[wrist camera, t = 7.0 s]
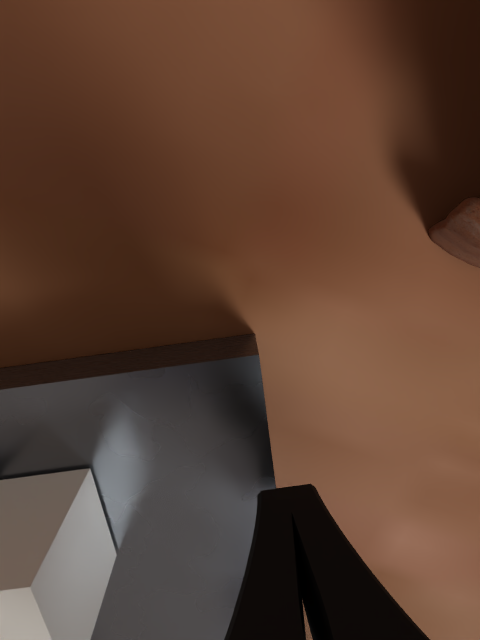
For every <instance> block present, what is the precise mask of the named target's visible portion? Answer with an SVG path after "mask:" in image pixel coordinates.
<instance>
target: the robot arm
mask: <svg viewBox="0 0 480 640" xmlns="http://www.w3.org/2000/svg"><path fill="white" fill-rule="evenodd" d="M302 600H303V603H302ZM303 604H304V608H305V611H306V615H307V619H308V623H309V627H310V631H311V634H312V638H313V640H430V639H429V638H428V637H427V636H426V635H425V634H424V633H423V632H422V630H421V629H420V628H419V627H418V626H417V625H416V624H415V623H414V622H413V621H412V619H411V618H410V617H409V616H408V615H407V614H406V613H405V611H404V610H403V609H402V608H401V607H400V606H399V605H398V603H397V602H396V601H395V600H394V599H393V597H392V596H391V595H390V594H389V593H388V591H387V590H386V589H385V588H384V587H383V585H382V584H381V583H380V582H379V580H378V579H377V578H376V577H375V575H374V574H373V573H372V572H371V570H370V569H369V568H368V566H367V565H366V564H365V563H364V561H363V560H362V559H361V557H360V556H359V554H358V553H357V552H356V550H355V549H354V548H353V546H352V545H351V544H350V542H349V541H348V540H347V538H346V537H345V535H344V534H343V532H342V531H341V530H340V528H339V527H338V525H337V524H336V522H335V520H334V519H333V517H332V516H331V514H330V513H329V511H328V509H327V508H326V506H325V505H324V503H323V501H322V499H321V497H320V496H319V494H318V492H317V490H316V488H315V487H314V486H313V485H311V484H306V485H299V486H291V487H284V488H277V489H269V490H262V491H260V493H259V494H258V495H257V513H256V521H255V527H254V533H253V538H252V543H251V548H250V552H249V556H248V561H247V565H246V569H245V573H244V577H243V581H242V584H241V588H240V591H239V594H238V598H237V601H236V605H235V608H234V611H233V615H232V618H231V621H230V624H229V627H228V630H227V633H226V636H225V639H224V640H306V634H305V624H304V613H303Z"/></svg>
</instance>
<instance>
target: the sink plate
mask: <svg viewBox="0 0 480 640" xmlns="http://www.w3.org/2000/svg"><path fill="white" fill-rule="evenodd" d="M88 468H90V470H91V473H92V476H93V479H94V483H95V486H96V489H97V492H98V496H99V499H100V502H101V505H102V509H103V512H104V515H105V518H106V522H107V525H108V528H109V531H110V535H111V538H112V541H113V544H114V548H115V551H116V554H117V556H116V559H115V562H114V565H113V568H112V572H111V575H110V578H109V581H108V585H107V588H106V591H105V594H104V598H103V601H102V604H101V607H100V610H99V614H98V617H97V620H96V623H95V627H94V630H93V633H92V636H91V640H224V639H225V636H226V633H227V630H228V627H229V624H230V621H231V618H232V615H233V611H234V608H235V605H236V601H237V598H238V594H239V591H240V588H241V584H242V581H243V577H244V573H245V569H246V565H247V561H248V556H249V552H250V548H251V543H252V538H253V533H254V527H255V521H256V513H257V495H258V494H259V493H260V491H262V490H269V489H276V484H275V477H274V469H273V461H272V453H271V445H270V438H269V430H268V422H267V414H266V407H265V399H264V391H263V383H262V375H261V368H260V360H259V353H258V348H257V343H256V338H255V334H248V335H241V336H234V337H226V338H219V339H212V340H204V341H197V342H190V343H182V344H175V345H168V346H160V347H153V348H146V349H138V350H131V351H124V352H116V353H109V354H102V355H94V356H87V357H80V358H72V359H65V360H58V361H50V362H43V363H36V364H28V365H21V366H14V367H6V368H0V480H5V479H13V478H20V477H28V476H36V475H43V474H51V473H58V472H66V471H73V470H81V469H88Z"/></svg>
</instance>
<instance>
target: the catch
mask: <svg viewBox="0 0 480 640" xmlns="http://www.w3.org/2000/svg"><path fill="white" fill-rule="evenodd" d="M116 556H117V554H116V551H115V548H114V544H113V541H112V538H111V535H110V531H109V528H108V525H107V522H106V518H105V515H104V512H103V509H102V505H101V502H100V499H99V496H98V492H97V489H96V486H95V483H94V479H93V476H92V473H91V470H90V468H88V469H81V470H73V471H66V472H58V473H51V474H43V475H36V476H28V477H20V478H13V479H5V480H0V640H91V636H92V633H93V630H94V627H95V623H96V620H97V617H98V614H99V610H100V607H101V604H102V601H103V598H104V594H105V591H106V588H107V585H108V581H109V578H110V575H111V572H112V568H113V565H114V562H115V559H116Z"/></svg>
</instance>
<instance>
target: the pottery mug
mask: <svg viewBox="0 0 480 640" xmlns="http://www.w3.org/2000/svg"><path fill="white" fill-rule="evenodd" d="M428 234H429V236H430V238H431V240H432V241H433V242H434V243H436V244H437V245H439V246H440V247H441V248H443V249H444V250H445V251H446V252H448V253H449V254H451V255H453V256H455V257H456V258H458V259H460V260H463V261H465V262H466V263H468V264H471V265H473V266H476V267H479V268H480V198H477V197H470V198H467V199H465V200H463V201H462V202H461V203H460V204H459V205H458V206H457V207H456V208H455V209H453V210H452V211H451V212H450V213H449V214H448V215H447V217H446V219H444V220H442V221H440V222H438V223H437V224H434V225H433V226H432V227H431V228H430V229H429V231H428Z"/></svg>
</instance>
